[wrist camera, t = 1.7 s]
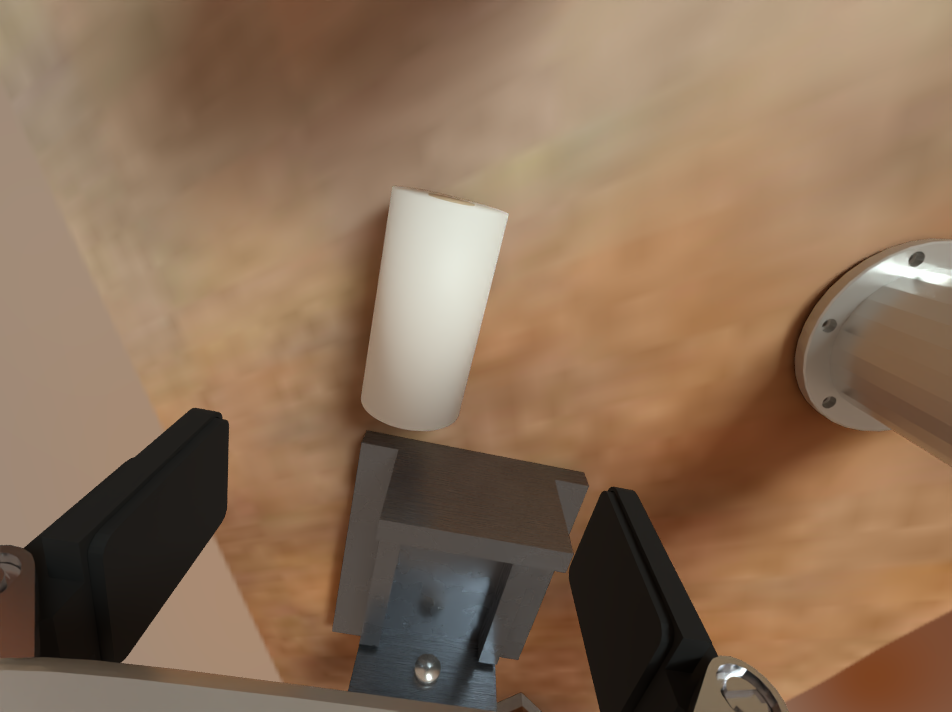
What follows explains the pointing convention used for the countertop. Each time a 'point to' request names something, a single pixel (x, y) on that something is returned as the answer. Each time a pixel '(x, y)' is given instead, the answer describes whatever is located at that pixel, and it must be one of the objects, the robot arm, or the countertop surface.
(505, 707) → the white stand
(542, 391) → the countertop surface
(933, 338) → the robot arm
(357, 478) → the roll holder
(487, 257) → the kitchen roll
